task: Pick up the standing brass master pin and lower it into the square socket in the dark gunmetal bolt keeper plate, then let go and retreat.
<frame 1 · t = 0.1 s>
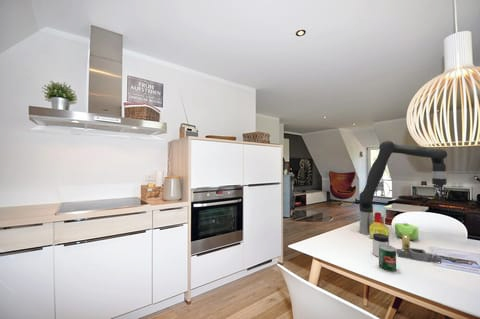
hand: (439, 200, 152), 29 cm above the table, fingers open, 8 cm apart
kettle: (405, 238, 159), on the table
canned tomato: (387, 268, 117), on the table
jar: (381, 255, 132), on the table
bottle: (378, 240, 157), on the table
master pin: (406, 251, 137), on the table
bolt keeper plate: (417, 257, 128), on the table
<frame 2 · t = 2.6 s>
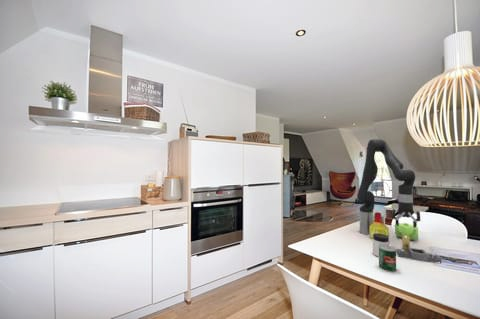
hand: (405, 226, 137), 16 cm above the table, fingers open, 8 cm apart
nothing on the table moved.
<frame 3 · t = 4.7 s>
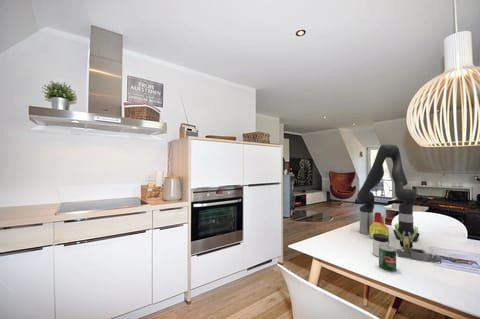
hand: (406, 247, 137), 3 cm above the table, fingers closed on master pin, 3 cm apart
master pin: (406, 251, 137), on the table, touching gripper
everything else where it was.
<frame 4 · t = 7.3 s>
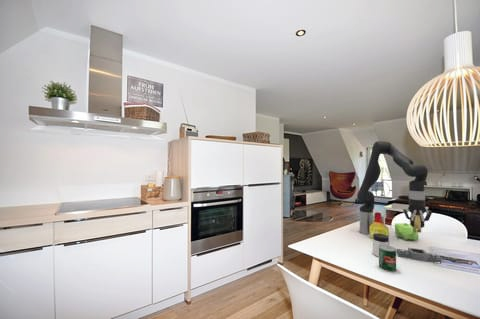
hand: (417, 226, 128), 18 cm above the table, fingers closed on master pin, 3 cm apart
master pin: (417, 231, 128), point 16 cm above the table, touching gripper
everything else where it was.
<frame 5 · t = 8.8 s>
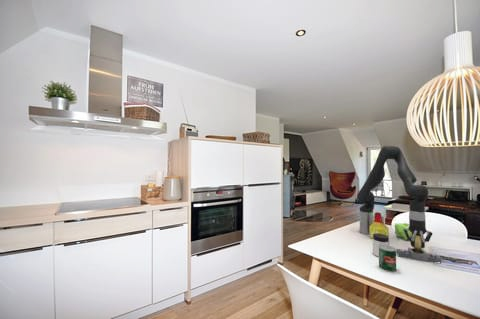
hand: (417, 247, 128), 6 cm above the table, fingers closed on master pin, 3 cm apart
master pin: (417, 251, 128), point 4 cm above the table, touching gripper
everything else where it was.
when the fingers open (5 cm above the table, at t = 9.7 s): master pin drops 2 cm, resting in bolt keeper plate.
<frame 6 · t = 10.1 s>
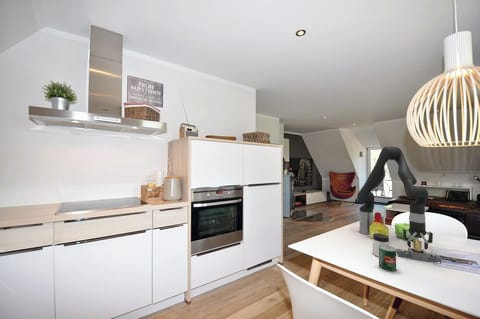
hand: (417, 248, 128), 6 cm above the table, fingers open, 7 cm apart
master pin: (417, 257, 128), resting in bolt keeper plate
everything else where it was.
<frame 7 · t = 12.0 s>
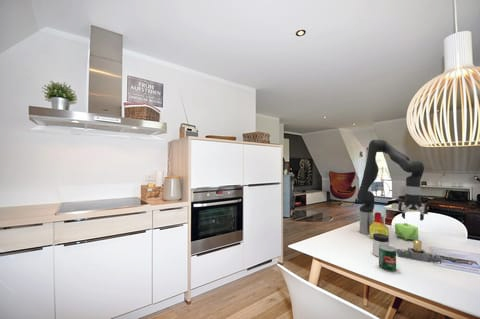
hand: (412, 219, 134), 22 cm above the table, fingers open, 8 cm apart
nothing on the table moved.
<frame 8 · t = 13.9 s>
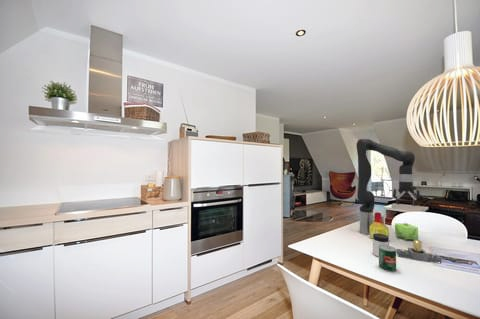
hand: (406, 204, 144), 28 cm above the table, fingers open, 8 cm apart
nothing on the table moved.
at the end: master pin 0.1 cm off-centre on the bolt keeper plate, point 0.0 cm above the bolt keeper plate's base; master pin tilted 0°; the gripper is holding nothing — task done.
